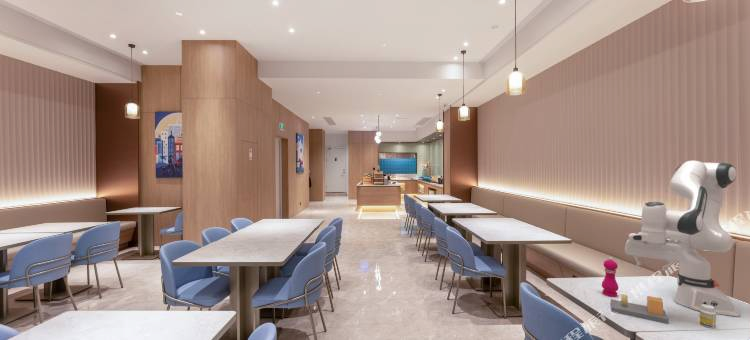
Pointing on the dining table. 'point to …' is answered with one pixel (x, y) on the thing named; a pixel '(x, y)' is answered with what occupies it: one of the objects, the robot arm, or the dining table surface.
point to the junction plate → (636, 310)
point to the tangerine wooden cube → (654, 305)
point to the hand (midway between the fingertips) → (652, 267)
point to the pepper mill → (610, 278)
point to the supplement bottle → (707, 316)
